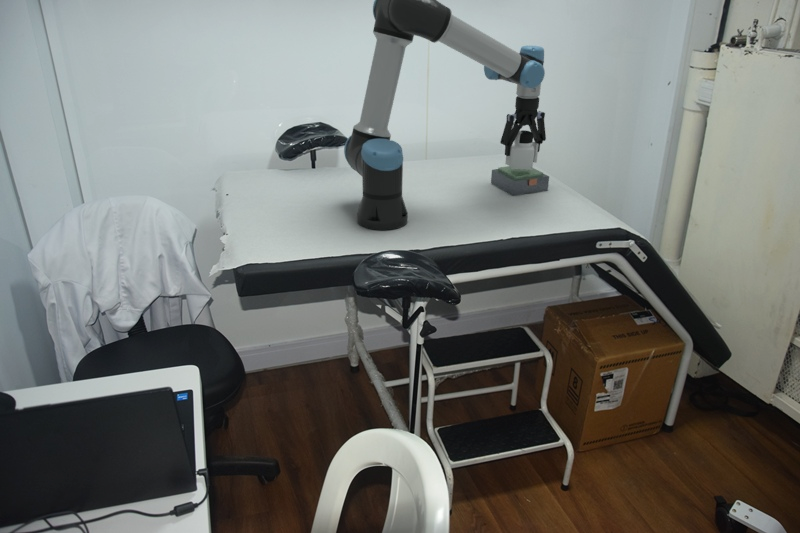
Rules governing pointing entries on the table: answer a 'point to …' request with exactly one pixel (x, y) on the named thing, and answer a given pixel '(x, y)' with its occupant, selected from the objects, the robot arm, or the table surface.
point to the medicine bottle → (523, 151)
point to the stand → (519, 180)
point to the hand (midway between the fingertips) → (521, 163)
